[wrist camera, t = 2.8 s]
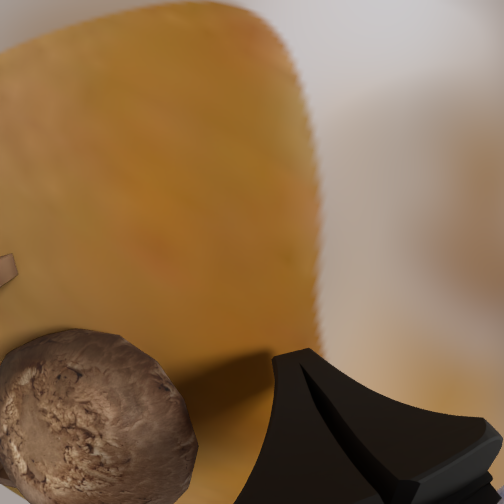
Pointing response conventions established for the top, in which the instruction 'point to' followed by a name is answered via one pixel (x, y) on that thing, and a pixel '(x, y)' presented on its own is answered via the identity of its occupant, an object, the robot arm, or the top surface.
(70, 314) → the top surface
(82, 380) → the mushroom
